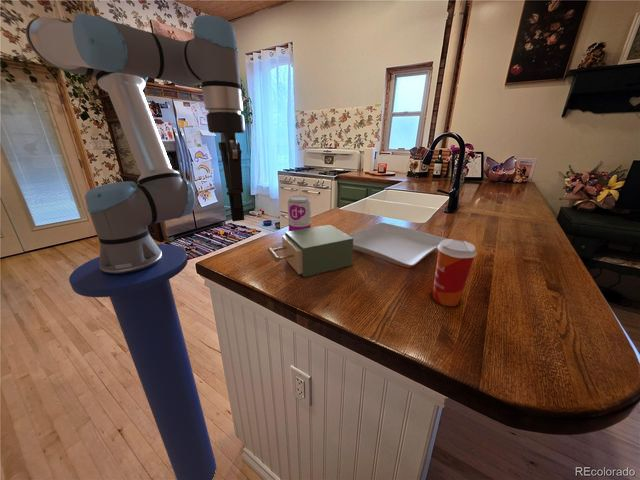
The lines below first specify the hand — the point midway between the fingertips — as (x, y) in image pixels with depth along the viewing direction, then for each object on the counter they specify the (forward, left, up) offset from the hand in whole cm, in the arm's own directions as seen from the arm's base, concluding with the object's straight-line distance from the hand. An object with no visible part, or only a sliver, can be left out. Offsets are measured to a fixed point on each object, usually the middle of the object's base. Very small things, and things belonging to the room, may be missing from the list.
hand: (238, 219), depth 62 cm
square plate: (+3, +49, -17) cm, 52 cm away
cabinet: (0, +22, -16) cm, 27 cm away
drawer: (0, +18, -16) cm, 23 cm away
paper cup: (+31, +40, -17) cm, 53 cm away
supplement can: (-21, +25, -17) cm, 37 cm away
